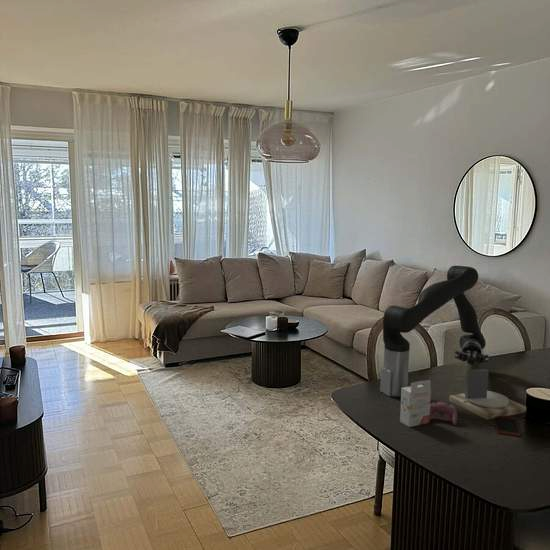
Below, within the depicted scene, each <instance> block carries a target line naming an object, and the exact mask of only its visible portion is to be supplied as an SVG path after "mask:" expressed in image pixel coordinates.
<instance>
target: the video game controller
mask: <svg viewBox="0 0 550 550" xmlns="http://www.w3.org/2000/svg"><path fill="white" fill-rule="evenodd" d="M440 412H442V413H443V415H442V418H443V420H444V421H445V422H448V421H450V419H451V420H452V424H453V426H457V422H458V410H457V408H456V407H455V406H454V405H452V404H449V403H447V402H441V401H437V402H435V401H434V402H430V417H429V421H430V420H431V418H432V417H433V419H434V420H439V419H441V414H440Z"/></svg>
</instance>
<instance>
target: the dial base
mask: <svg viewBox="0 0 550 550" xmlns="http://www.w3.org/2000/svg"><path fill="white" fill-rule="evenodd" d="M487 391H489V389H487ZM448 401H449V402H451V403H453V404H455V405H457V406H458V407H461V408H463V409H465V410H467V411H469V412H470V413H472V414H475V415H477V416H479V417H481V418H482V419H484V420H487V421H488V420H494V417H497V416H505V417H510V416H514V415H519V414H524V412H525V411H526V412H527V406H525V405H523V404H521V403H520V402H516V401H514V400H512V399H509V404H508V406H506V407H502V408H490V407H484V406H479V405H476V404H474V403H471V402H470V401H468V400H467V398H465V392H463V393H459V394H452V395H451V394H449V399H448ZM526 412H525V413H526Z"/></svg>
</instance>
